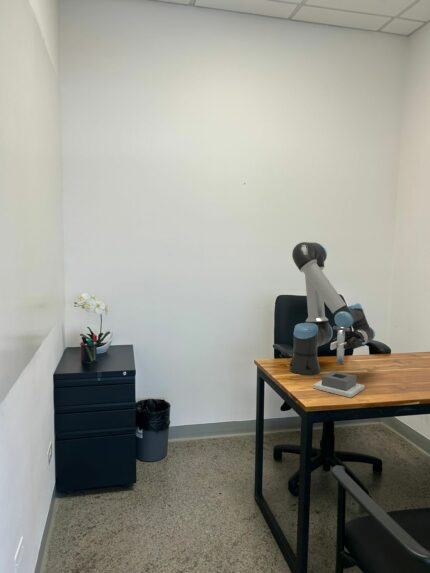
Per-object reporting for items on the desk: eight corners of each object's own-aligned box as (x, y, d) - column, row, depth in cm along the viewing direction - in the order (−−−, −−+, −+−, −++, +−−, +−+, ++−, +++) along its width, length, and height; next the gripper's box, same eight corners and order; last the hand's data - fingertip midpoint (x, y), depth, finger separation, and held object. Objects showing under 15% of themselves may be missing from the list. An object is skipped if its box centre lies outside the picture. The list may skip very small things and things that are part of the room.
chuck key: (330, 363, 176) (331, 326, 175) (333, 361, 178) (334, 325, 177) (347, 366, 171) (348, 328, 170) (349, 365, 174) (351, 327, 172)
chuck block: (313, 388, 176) (313, 375, 175) (327, 380, 187) (328, 368, 187) (351, 397, 165) (351, 384, 164) (364, 388, 176) (365, 376, 176)
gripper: (373, 349, 183) (353, 359, 165) (339, 343, 193) (317, 352, 175) (374, 332, 182) (354, 341, 164) (340, 328, 193) (318, 335, 175)
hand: (335, 347), depth 170 cm, fingers closed on chuck key, 3 cm apart
